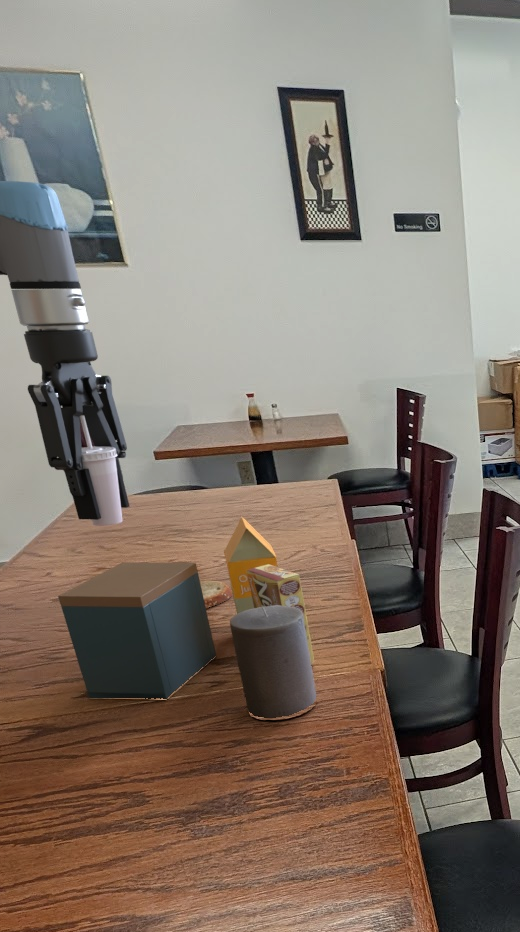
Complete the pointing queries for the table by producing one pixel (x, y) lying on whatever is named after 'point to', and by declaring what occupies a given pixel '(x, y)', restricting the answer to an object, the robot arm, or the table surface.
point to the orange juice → (246, 561)
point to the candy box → (278, 591)
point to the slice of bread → (215, 592)
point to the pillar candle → (273, 660)
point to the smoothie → (103, 479)
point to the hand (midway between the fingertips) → (104, 512)
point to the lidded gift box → (139, 629)
